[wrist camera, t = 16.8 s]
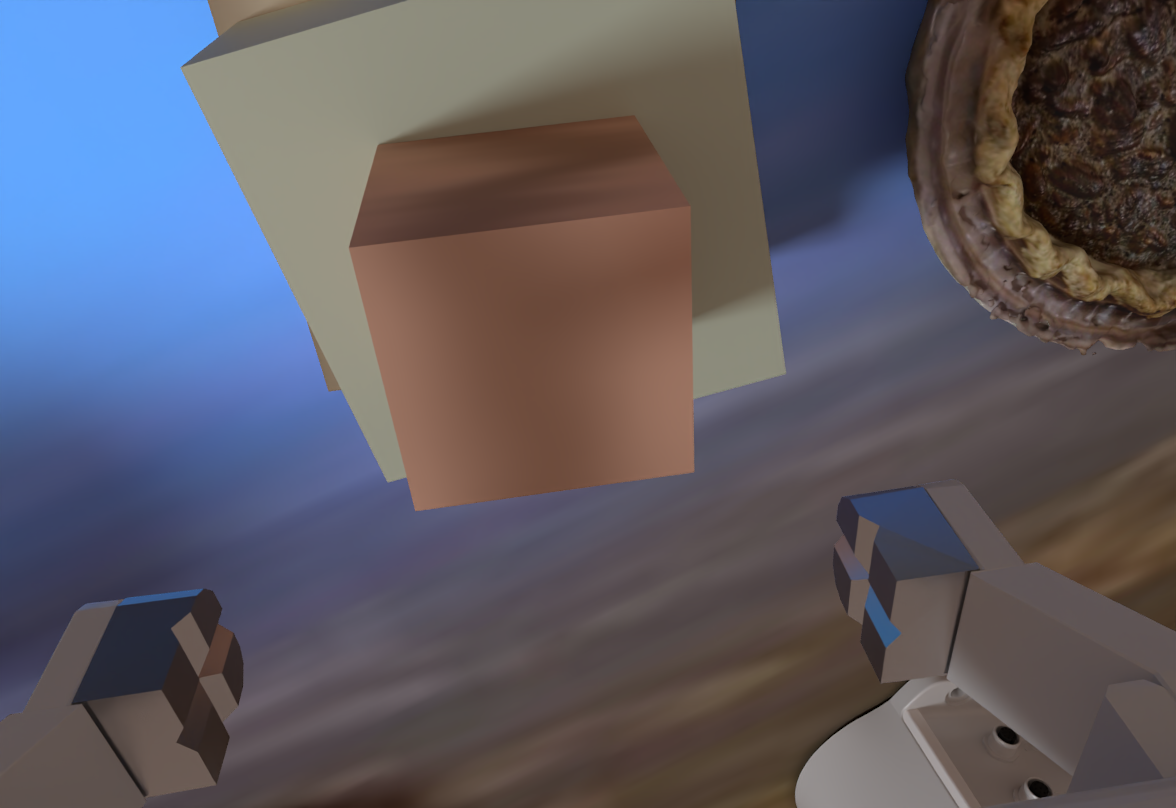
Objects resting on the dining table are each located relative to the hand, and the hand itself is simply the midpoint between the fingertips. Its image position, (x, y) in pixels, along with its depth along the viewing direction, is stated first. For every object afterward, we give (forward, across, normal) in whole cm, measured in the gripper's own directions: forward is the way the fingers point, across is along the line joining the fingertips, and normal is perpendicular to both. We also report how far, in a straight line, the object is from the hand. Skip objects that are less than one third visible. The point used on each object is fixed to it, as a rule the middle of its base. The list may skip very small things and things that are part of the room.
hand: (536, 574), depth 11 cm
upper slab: (+15, 0, 0) cm, 15 cm away
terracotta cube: (+10, 0, 0) cm, 10 cm away
